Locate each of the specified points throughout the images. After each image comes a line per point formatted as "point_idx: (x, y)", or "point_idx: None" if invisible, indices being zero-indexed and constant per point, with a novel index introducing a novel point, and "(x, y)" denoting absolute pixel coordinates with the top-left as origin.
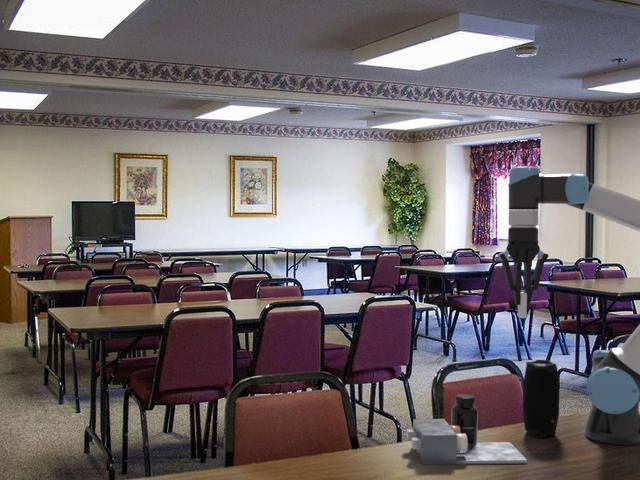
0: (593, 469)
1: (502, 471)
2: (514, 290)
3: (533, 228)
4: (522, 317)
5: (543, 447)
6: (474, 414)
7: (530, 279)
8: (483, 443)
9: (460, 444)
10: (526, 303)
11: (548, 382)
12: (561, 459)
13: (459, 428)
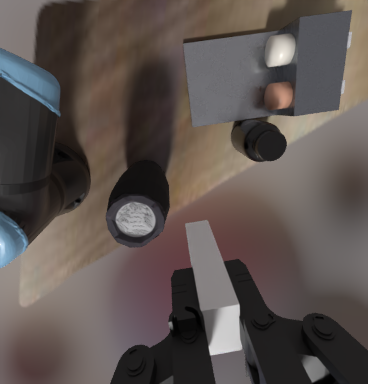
0: (94, 23)
1: (222, 2)
2: (287, 322)
3: None
4: (201, 222)
5: (150, 122)
6: (251, 127)
7: None
8: (227, 117)
9: (282, 34)
10: (193, 262)
11: (129, 182)
12: (133, 69)
13: (275, 89)
